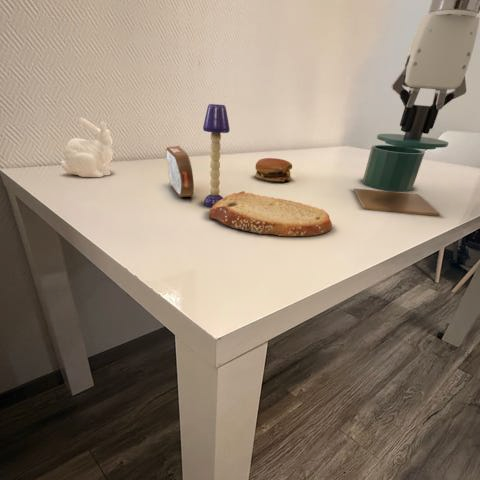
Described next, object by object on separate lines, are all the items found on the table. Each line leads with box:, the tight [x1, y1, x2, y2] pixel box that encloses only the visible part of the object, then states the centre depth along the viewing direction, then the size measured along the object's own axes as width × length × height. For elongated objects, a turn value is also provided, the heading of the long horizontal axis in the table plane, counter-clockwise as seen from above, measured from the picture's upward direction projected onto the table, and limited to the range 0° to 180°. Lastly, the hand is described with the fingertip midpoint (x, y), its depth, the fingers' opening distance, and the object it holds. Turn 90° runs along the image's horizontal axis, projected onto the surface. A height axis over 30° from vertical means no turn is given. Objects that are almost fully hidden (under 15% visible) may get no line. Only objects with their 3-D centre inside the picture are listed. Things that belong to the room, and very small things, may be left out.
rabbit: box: [60, 116, 114, 178], centre depth 75 cm, size 12×9×12 cm
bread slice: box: [208, 190, 333, 237], centre depth 58 cm, size 18×18×4 cm
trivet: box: [353, 187, 440, 217], centre depth 74 cm, size 15×15×1 cm
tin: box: [165, 145, 195, 198], centre depth 69 cm, size 15×3×8 cm, turn 20°
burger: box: [255, 157, 293, 183], centre depth 85 cm, size 10×9×5 cm
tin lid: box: [376, 104, 449, 150], centre depth 65 cm, size 13×13×7 cm
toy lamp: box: [202, 103, 231, 208], centre depth 61 cm, size 5×5×17 cm
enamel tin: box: [362, 144, 426, 192], centre depth 85 cm, size 12×12×8 cm
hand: (414, 131), depth 66 cm, fingers closed on tin lid, 3 cm apart
